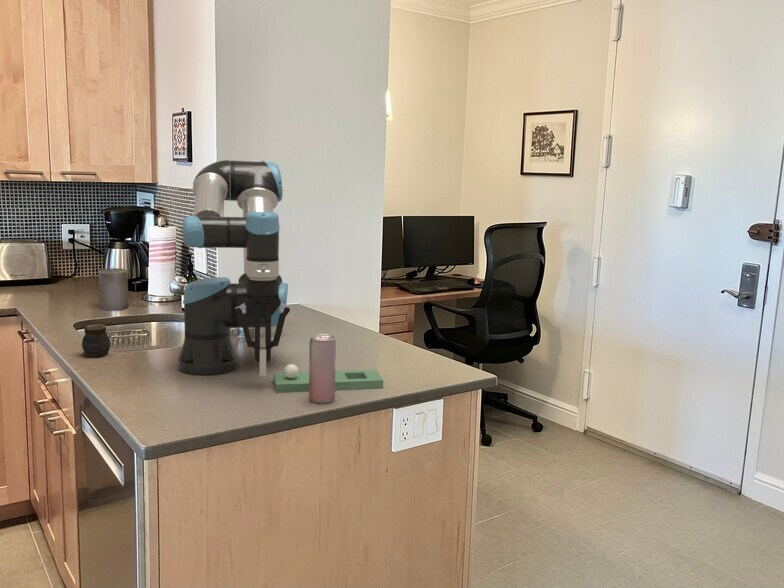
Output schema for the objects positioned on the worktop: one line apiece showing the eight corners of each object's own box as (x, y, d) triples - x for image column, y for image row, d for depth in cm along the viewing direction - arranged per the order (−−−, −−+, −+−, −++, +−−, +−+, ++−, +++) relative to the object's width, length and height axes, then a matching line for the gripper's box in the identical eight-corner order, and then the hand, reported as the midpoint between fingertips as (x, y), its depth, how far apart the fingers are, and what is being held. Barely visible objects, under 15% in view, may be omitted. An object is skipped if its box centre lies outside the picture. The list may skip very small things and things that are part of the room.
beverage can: (309, 395, 165) (310, 333, 162) (334, 395, 165) (335, 334, 163) (308, 404, 159) (309, 340, 156) (334, 404, 159) (336, 340, 157)
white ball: (284, 380, 169) (284, 366, 168) (283, 376, 172) (283, 362, 171) (299, 380, 170) (299, 366, 169) (297, 375, 173) (297, 362, 172)
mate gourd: (115, 355, 192) (114, 320, 190) (88, 360, 187) (86, 324, 185) (104, 349, 197) (102, 315, 195) (76, 355, 192) (74, 319, 190)
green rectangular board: (276, 392, 166) (276, 384, 166) (273, 381, 175) (273, 373, 174) (382, 388, 172) (383, 380, 172) (375, 377, 181) (375, 369, 180)
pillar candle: (118, 304, 258) (116, 263, 255) (134, 307, 252) (132, 266, 249) (94, 308, 250) (91, 266, 247) (110, 312, 245) (107, 270, 242)
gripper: (234, 280, 160) (235, 380, 164) (291, 280, 162) (291, 378, 167) (234, 275, 167) (235, 370, 171) (289, 275, 170) (288, 369, 174)
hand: (262, 374), depth 169 cm, fingers closed
